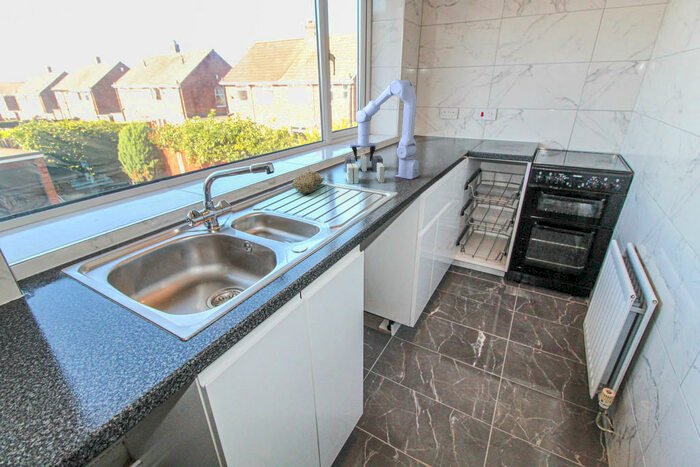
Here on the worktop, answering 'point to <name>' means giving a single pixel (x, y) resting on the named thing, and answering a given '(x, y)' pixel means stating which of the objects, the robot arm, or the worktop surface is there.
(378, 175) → the white books
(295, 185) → the sponge
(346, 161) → the grey books
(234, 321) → the worktop surface
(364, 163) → the white book
